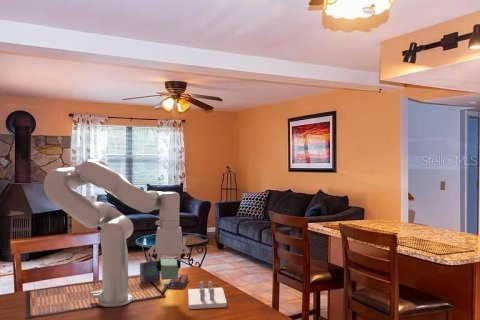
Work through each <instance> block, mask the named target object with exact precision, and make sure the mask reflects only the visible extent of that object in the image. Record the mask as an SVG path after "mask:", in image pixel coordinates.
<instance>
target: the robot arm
mask: <svg viewBox="0 0 480 320" xmlns="http://www.w3.org/2000/svg"><path fill="white" fill-rule="evenodd" d="M88 184H91V185H93V186H95V187H97V188H99V189H100V190H103V191H104V192H107V193H109V194H111V195H112V196H113V197H115V198H116V199H117V200H119V201H120V202H121V203H123V204H125V205H126V206H128V207H130V208H132V209H134V210H135V211H138V212H141V213H145V214H146V213H150V212H152V211H154V210H159V219H158V220H156V221H155V225H157V226H158V227H157V228H156V234H155V243H154V245H152V246H151V247H150V248H149V249H148V251H147V252H148V254H149V255H150V256H152V257H153V258H152V259H154V260H156V261H157V269H158V272H160V270H161V260H160V259H161V256H162V255H163V256H165V255H169V256H170V255H175V256H176V258H177V259H176V263H177V266H178V272H179V269H181V266H182V265H181V262H182V260H183V259H184V258H185V256H186V255H188V253H189V252H190V249H189V248H188V246H186V245H185V244H184V242H183V232H182V227H181V226H180V202H181V201H180V200H181V199H180V197H181V195H180V193H178V192H176V191H157V190H148V191H145V190H143V189H140V188H139V187H136V186H135V185H133V184H131V182H129V181H128V180H127V178H126V176H125V175H123V174H122V173H121V172H119V171H116V170H114V169H113V168H110V167H108V165H107V164H106V162H104V161H103V160H101V159H95V158H94V159H86V160H84V161H83V162H81V163H80V164H77V165H74V166H69V167H59V168H54V169H52V170H50V171H48V173H46V176H45V178H44V179H43V187H44V188H43V189H44V193H45V196H46V197H47V198H48V200H49V201H50V202H51V203H52V204H54V205H55V206H56V207H58V208H59V209H61V210H62V211H64V213H66V214H67V215H69V216H70V217H72V219H74V220H76V221H77V222H79V223H80V224H81V225H82V226H85V228H89V229H95V228H98V227H100V228H101V230H100V233H99V239H100V241H99V242H100V246H101V263H102V264H101V273H102V274H101V277H102V279H101V281H102V282H101V283H102V289H100V290H99V291H95V290H94V291H90V297H91V298H93V299H98V301H97V303H98V305H99V306H102V307H105V308H106V307H107V308H109V307H110V308H113V307H114V308H115V307H121V306H125V305H128V304H130V303H132V301H133V295H131V294H129V259H128V258H129V257H128V256H129V254H128V253H129V252H128V246H127V239H128V238H130V237H131V236H132V234H133V232H134V224H133V222H132V220H131V219H130V218H129V217H128V216H126V215H125V214H123V213H122V212H121V211H119V210H118V209H116V208H115V207H113V206H112V205H110V204H109V203H107V202H104V201H94V202H93V201H91V200H89V199H88V198H86V197H85V196H83V195H82V194H80V193H79V192H77V191H74V189H75V188H77V187H81V186H85V185H88ZM73 188H74V189H73ZM183 250H184V251H183ZM154 251H155V252H154Z"/></svg>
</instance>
